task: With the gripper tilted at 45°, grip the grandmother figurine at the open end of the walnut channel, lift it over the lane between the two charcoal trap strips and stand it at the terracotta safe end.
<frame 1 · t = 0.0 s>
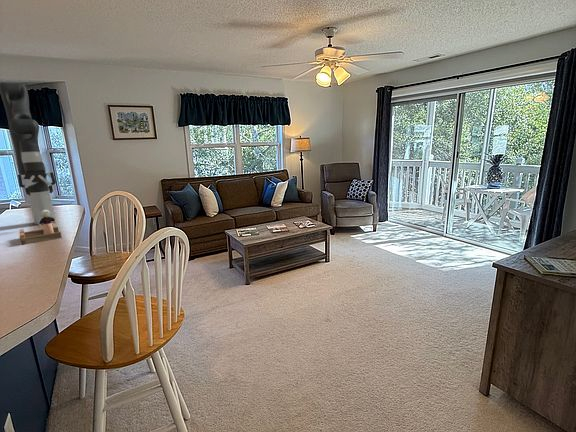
hand: (40, 194, 154), 17 cm above the table, tool pointing down, fingers open, 8 cm apart
grandmother figurine: (50, 236, 143), on the table
trap box: (41, 237, 141), on the table
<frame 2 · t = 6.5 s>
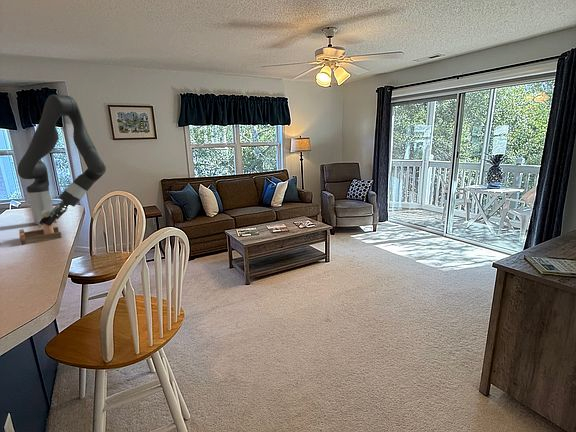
hand: (46, 223, 142), 6 cm above the table, tool tilted 45°, fingers closed on grandmother figurine, 3 cm apart
grandmother figurine: (51, 236, 143), on the table, touching gripper
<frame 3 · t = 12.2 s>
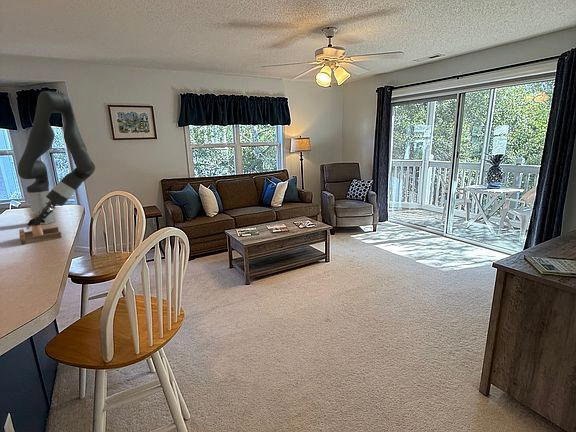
hand: (33, 223, 138), 7 cm above the table, tool tilted 45°, fingers closed on grandmother figurine, 3 cm apart
grandmother figurine: (40, 238, 141), on the table, touching gripper
when the fingers open (7 cm above the table, at t = 12.3 s): grandmother figurine stays where it is, on the table.
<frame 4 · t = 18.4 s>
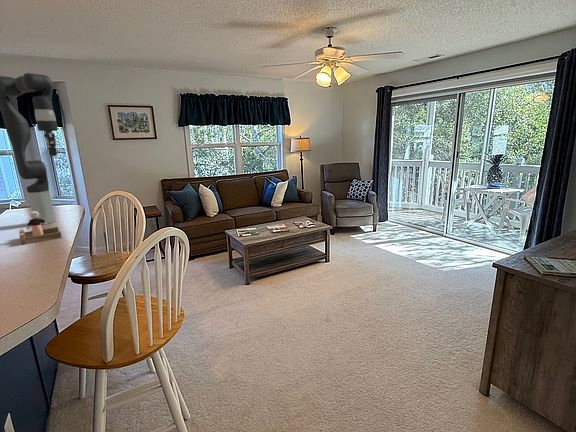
hand: (53, 155, 148), 36 cm above the table, tool pointing down, fingers open, 8 cm apart
grandmother figurine: (40, 238, 141), on the table
at the end: grandmother figurine 0.9 cm from the target spot, on the table; grandmother figurine tilted 0°; the gripper is holding nothing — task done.
